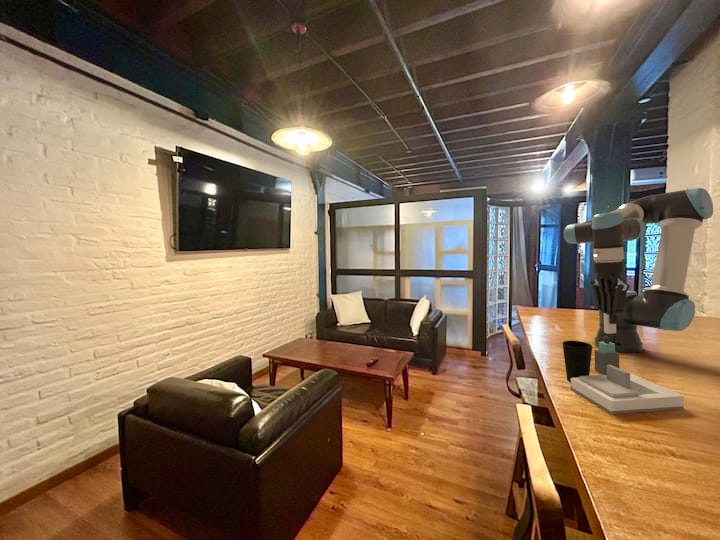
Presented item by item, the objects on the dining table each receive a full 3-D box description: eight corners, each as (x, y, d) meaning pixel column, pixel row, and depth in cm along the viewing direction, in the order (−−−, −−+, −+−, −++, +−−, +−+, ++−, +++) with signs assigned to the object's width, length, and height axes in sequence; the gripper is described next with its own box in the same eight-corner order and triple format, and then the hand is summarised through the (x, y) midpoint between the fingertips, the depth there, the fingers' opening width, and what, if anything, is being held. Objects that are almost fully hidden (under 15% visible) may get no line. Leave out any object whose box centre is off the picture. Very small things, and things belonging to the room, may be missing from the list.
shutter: (603, 377, 88) (602, 361, 87) (639, 395, 76) (639, 377, 76) (579, 378, 87) (579, 363, 87) (612, 397, 76) (612, 379, 76)
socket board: (632, 385, 89) (632, 373, 89) (683, 409, 75) (683, 395, 75) (570, 389, 89) (570, 378, 89) (611, 414, 75) (611, 400, 75)
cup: (594, 388, 89) (593, 349, 88) (563, 383, 93) (563, 346, 92) (591, 378, 95) (590, 342, 95) (562, 374, 99) (561, 339, 99)
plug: (608, 369, 102) (608, 335, 101) (619, 373, 98) (619, 338, 97) (594, 370, 101) (594, 335, 101) (604, 374, 97) (604, 339, 97)
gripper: (581, 261, 102) (584, 328, 103) (612, 262, 89) (614, 339, 90) (604, 259, 101) (606, 326, 103) (638, 260, 88) (640, 337, 90)
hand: (610, 332), depth 97 cm, fingers closed
